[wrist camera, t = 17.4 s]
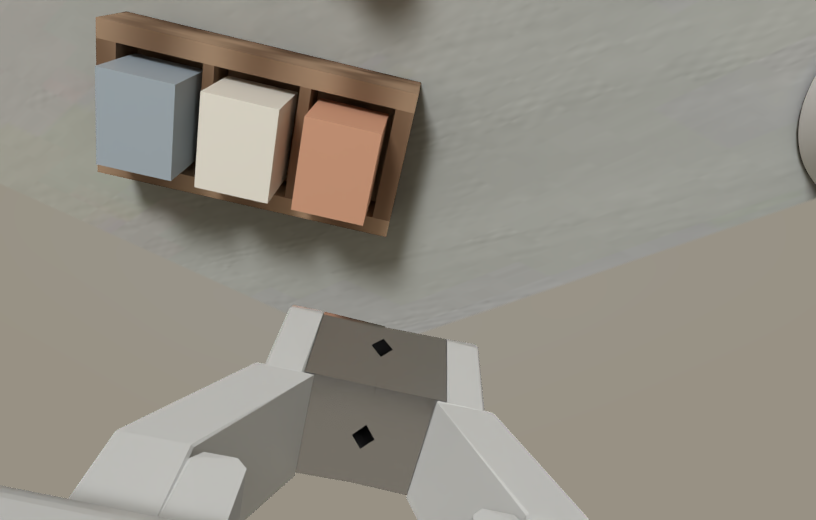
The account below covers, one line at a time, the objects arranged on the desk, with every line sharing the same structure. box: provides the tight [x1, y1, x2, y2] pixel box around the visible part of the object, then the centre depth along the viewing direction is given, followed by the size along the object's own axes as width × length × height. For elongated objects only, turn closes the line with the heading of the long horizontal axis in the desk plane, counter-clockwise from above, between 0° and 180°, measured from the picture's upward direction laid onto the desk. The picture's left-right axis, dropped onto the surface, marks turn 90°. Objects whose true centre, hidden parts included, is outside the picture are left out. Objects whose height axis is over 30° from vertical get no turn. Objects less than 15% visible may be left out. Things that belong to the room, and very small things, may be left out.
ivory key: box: [194, 76, 298, 204], centre depth 38 cm, size 5×6×5 cm
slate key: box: [95, 53, 203, 181], centre depth 38 cm, size 5×6×5 cm
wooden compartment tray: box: [96, 12, 421, 237], centre depth 41 cm, size 20×10×4 cm, turn 77°
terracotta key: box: [291, 98, 389, 226], centre depth 39 cm, size 5×6×5 cm
